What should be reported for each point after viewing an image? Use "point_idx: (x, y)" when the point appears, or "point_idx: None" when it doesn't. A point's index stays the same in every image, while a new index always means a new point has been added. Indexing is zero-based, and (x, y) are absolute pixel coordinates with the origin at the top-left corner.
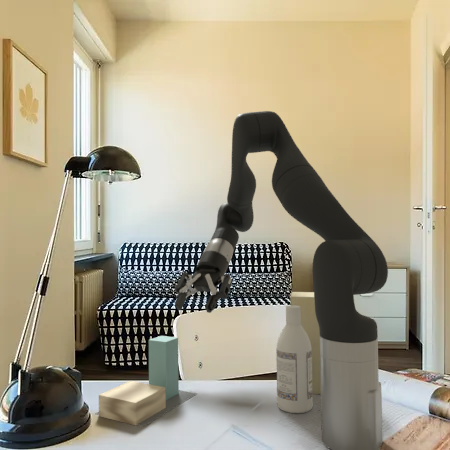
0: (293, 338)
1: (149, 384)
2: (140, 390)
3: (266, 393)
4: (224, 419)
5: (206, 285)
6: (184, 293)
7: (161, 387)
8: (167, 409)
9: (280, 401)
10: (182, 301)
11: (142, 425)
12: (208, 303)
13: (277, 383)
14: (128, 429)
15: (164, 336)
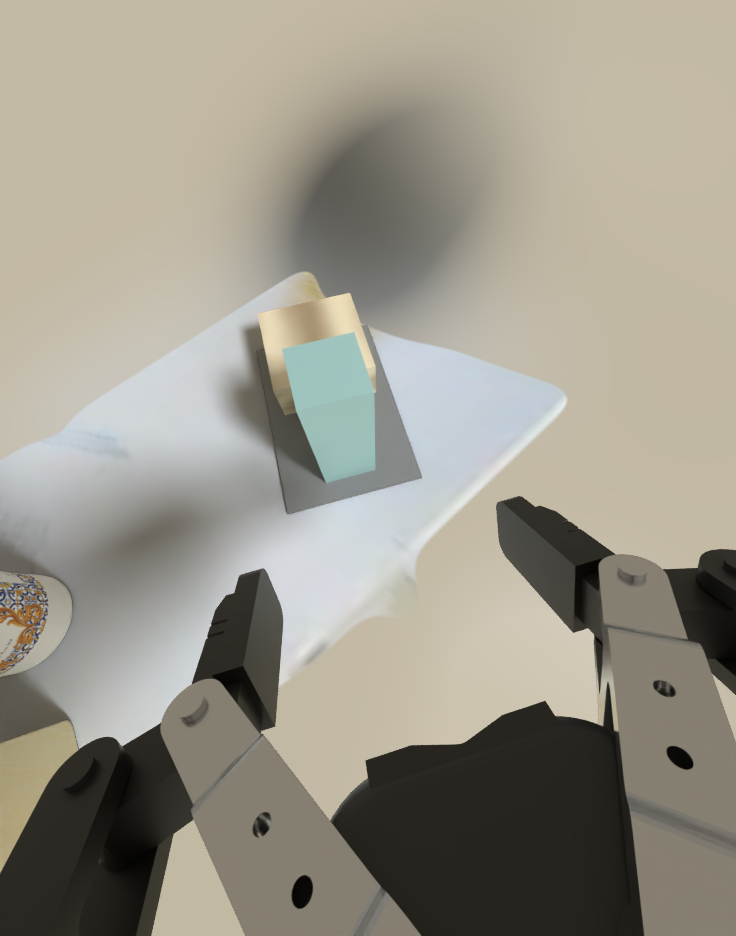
0: None
1: None
2: None
3: (137, 655)
4: (153, 461)
5: (365, 795)
6: (595, 601)
7: (279, 385)
8: (275, 413)
9: (38, 576)
10: (535, 564)
11: (260, 350)
12: (238, 593)
13: (11, 582)
14: None
15: (353, 390)
